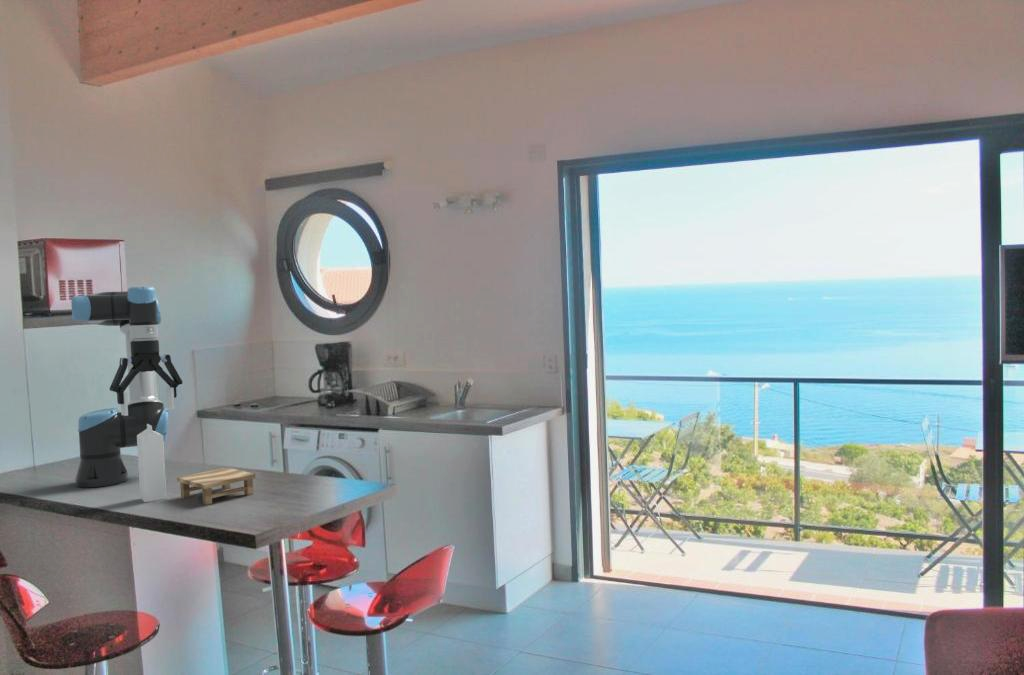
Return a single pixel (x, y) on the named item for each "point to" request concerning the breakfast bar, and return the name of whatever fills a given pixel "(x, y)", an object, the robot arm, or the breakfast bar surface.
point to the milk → (151, 465)
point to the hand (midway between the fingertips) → (148, 412)
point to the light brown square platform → (216, 483)
